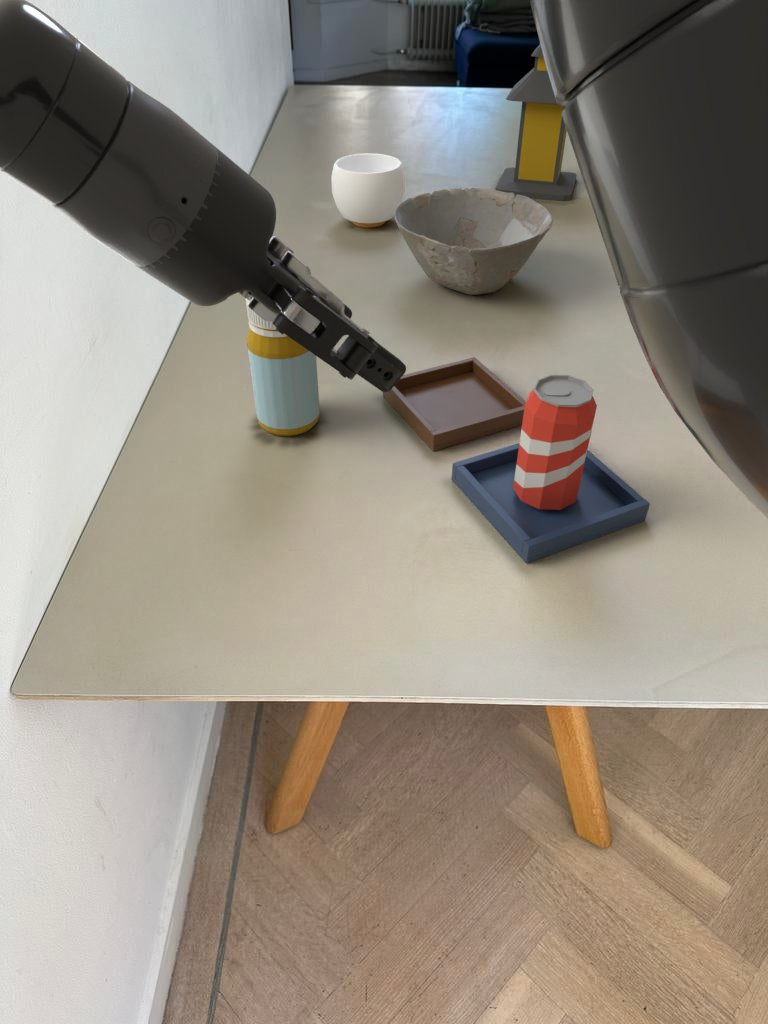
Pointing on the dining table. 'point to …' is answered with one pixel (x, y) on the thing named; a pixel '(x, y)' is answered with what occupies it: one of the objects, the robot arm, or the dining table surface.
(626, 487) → the tray
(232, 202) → the robot arm
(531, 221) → the ceramic bowl
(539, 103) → the lantern
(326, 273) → the dining table surface
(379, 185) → the cup
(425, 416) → the tray
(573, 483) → the beverage can
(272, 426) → the bottle
